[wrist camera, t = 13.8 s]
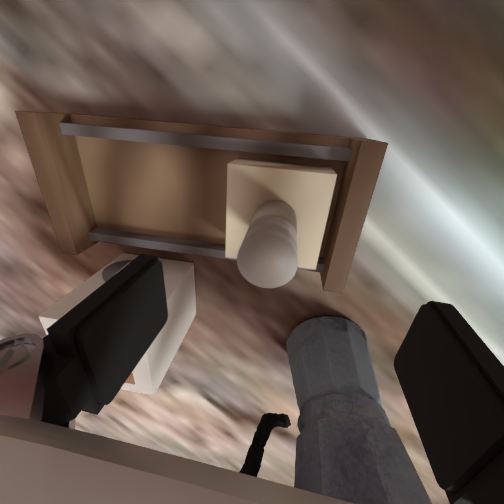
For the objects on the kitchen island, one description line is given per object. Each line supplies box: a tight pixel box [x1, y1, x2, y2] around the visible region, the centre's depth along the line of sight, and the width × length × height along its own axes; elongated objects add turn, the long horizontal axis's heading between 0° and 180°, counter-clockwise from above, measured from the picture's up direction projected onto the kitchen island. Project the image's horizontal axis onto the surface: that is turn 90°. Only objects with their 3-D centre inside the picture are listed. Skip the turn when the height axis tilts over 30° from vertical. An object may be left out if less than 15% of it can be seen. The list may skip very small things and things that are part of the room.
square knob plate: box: [225, 158, 337, 288], centre depth 16 cm, size 7×7×9 cm
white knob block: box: [39, 253, 196, 396], centre depth 23 cm, size 8×8×10 cm
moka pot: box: [239, 316, 432, 504], centre depth 20 cm, size 10×15×20 cm, turn 92°
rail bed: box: [15, 111, 388, 293], centre depth 20 cm, size 24×11×4 cm, turn 86°
